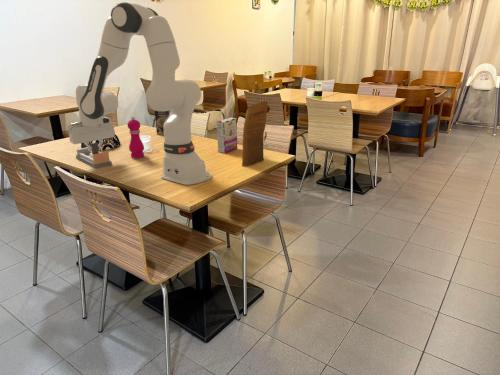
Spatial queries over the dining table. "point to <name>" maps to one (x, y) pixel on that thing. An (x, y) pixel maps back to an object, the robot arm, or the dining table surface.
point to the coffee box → (161, 120)
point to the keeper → (94, 149)
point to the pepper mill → (135, 139)
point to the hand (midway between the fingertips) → (95, 149)
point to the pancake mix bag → (254, 134)
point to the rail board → (97, 159)
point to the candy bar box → (227, 135)
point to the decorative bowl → (106, 142)
